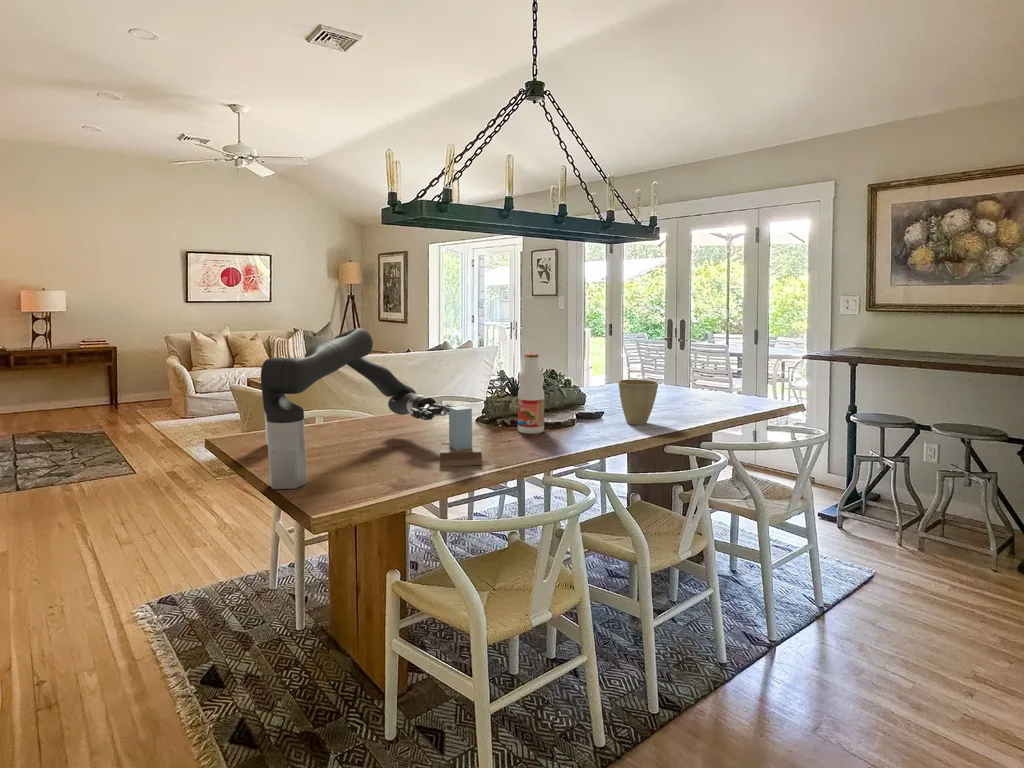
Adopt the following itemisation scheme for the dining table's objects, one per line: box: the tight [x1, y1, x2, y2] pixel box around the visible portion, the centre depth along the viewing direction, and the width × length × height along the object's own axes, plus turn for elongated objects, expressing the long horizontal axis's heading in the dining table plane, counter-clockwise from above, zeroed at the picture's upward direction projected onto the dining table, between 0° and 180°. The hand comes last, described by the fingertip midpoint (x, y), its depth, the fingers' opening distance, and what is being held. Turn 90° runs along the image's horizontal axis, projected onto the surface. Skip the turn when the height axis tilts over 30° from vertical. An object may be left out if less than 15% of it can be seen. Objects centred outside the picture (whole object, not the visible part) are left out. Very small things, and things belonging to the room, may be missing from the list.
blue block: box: [448, 405, 473, 450], centre depth 196 cm, size 5×5×12 cm
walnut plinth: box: [439, 442, 483, 467], centre depth 197 cm, size 12×12×4 cm
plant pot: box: [618, 379, 659, 426], centre depth 252 cm, size 15×15×16 cm
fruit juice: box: [517, 352, 545, 435], centre depth 236 cm, size 9×9×28 cm
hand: (443, 414), depth 205 cm, fingers open, 8 cm apart
